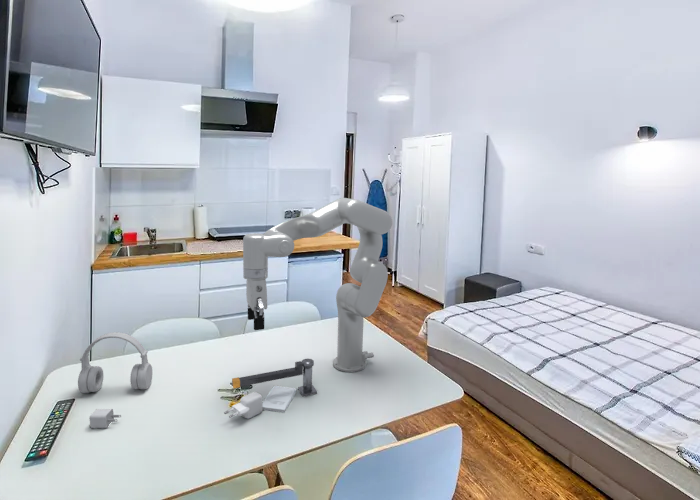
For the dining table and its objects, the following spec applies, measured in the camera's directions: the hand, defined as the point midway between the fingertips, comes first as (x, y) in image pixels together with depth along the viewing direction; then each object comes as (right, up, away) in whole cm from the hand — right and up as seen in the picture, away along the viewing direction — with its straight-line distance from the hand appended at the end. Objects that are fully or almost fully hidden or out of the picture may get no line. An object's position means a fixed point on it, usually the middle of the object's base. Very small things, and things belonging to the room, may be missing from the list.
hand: (255, 324), depth 131 cm
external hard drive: (+8, -25, -2) cm, 26 cm away
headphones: (-46, -22, +2) cm, 51 cm away
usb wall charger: (-38, -26, -16) cm, 49 cm away
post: (+16, -23, +3) cm, 29 cm away
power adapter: (-1, -26, -11) cm, 28 cm away
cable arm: (+7, -17, -2) cm, 18 cm away
